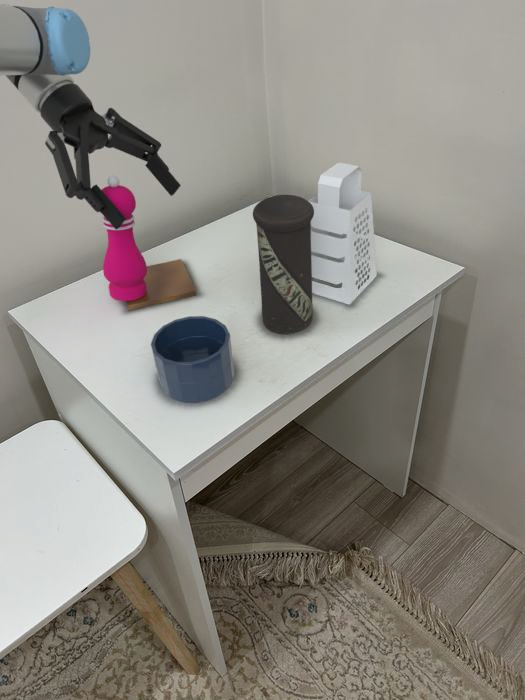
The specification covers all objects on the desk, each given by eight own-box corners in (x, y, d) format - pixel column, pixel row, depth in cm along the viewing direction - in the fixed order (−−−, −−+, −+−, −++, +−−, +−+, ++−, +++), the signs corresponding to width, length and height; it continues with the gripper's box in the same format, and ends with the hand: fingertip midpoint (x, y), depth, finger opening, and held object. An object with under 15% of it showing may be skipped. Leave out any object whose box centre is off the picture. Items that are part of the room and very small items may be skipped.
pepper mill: (136, 280, 99) (123, 167, 88) (157, 294, 94) (145, 177, 83) (99, 291, 95) (80, 174, 84) (119, 306, 90) (101, 185, 79)
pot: (168, 411, 73) (159, 372, 69) (154, 364, 81) (145, 326, 77) (243, 390, 76) (239, 352, 71) (222, 346, 84) (217, 309, 79)
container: (254, 333, 86) (244, 215, 73) (267, 301, 93) (260, 188, 80) (308, 338, 84) (308, 218, 71) (318, 305, 91) (319, 190, 78)
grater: (376, 275, 97) (386, 164, 84) (349, 304, 90) (355, 189, 78) (325, 261, 102) (327, 154, 89) (295, 287, 95) (293, 176, 83)
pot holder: (128, 311, 93) (127, 306, 92) (119, 277, 102) (117, 272, 101) (196, 295, 95) (195, 290, 95) (181, 263, 104) (181, 258, 104)
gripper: (105, 94, 95) (186, 190, 98) (-15, 139, 79) (86, 252, 82) (121, 63, 90) (206, 165, 93) (-5, 104, 74) (103, 226, 77)
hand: (150, 206), depth 87 cm, fingers open, 13 cm apart
